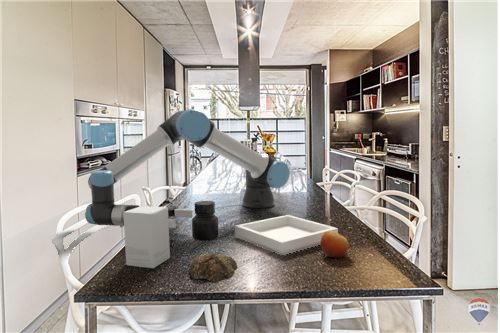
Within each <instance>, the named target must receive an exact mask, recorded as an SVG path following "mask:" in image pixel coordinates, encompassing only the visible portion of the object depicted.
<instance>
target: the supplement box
mask: <svg viewBox="0 0 500 333" xmlns="http://www.w3.org/2000/svg"><path fill="white" fill-rule="evenodd" d="M139 206H140V207H137V208H134V209H131V210H128V211H125V212H123V216H124V226H123V229H124V230H123V231H124V245H125V248H124V249H125V263H126V266H128V267H129V266H130V267H140V268H147V269H155V268H156V267H158V266H159V265H161V264H163V263H164V262H166V261H167V260H169V259H170V258H171V250H170V248H171V247H170V229H169V222H168V219H169V217H168V208H169V206H167V207H166V206H151V205H139Z"/></svg>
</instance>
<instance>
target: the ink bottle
mask: <svg viewBox="0 0 500 333" xmlns="http://www.w3.org/2000/svg"><path fill="white" fill-rule="evenodd" d="M215 204H216V201H213V200H200V201H199V200H198V201H195V202H194V216H192V219H191V238H192V239H193V240H195V241H199V242H200V241H202V242H203V241H204V242H205V241H213V240H216V239H218V238H219V218H218V216H217V215H215V214H216V213H215V212H216V205H215Z"/></svg>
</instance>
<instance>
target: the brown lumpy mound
mask: <svg viewBox="0 0 500 333" xmlns="http://www.w3.org/2000/svg"><path fill="white" fill-rule="evenodd" d="M232 257H233V256H229V255H228V256H226V255H224V254H218V253H214V252H209V253H202V254H200V255H196V256H195V257H194V259H192V261H191V262H190V265H189V267H188V270H189V271H188V272H189V273H190V277H191V278H192V279H194V280H208V281H209V282H219V281H222V280H224V279H226V278H229V277H231V278H232V276H233V275H234V274H235V273H236V272H235V271H236V270H237V269H238V266H237V265H238V264H237V263H238V262H236V260H235V259H234V258H232ZM236 268H237V269H236Z"/></svg>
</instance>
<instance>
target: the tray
mask: <svg viewBox="0 0 500 333" xmlns="http://www.w3.org/2000/svg"><path fill="white" fill-rule="evenodd" d="M328 231H329V232H333V231H334V232H336V233H339V228H338V227H334V226H331V225H327V224H325V223H324V224H323V223H320V222H316V221H312V220H310V219H309V220H308V219H305V218H301V217H297V216H294V215H290V214H286V215H280V216H276V217H271V218H270V217H269V218H265V219H261V220H255V221H251V222H246V223H240V224H236V225H234V238H236V237H237V238H236V239H239V238H240V239H239V240H241V239H242V241H243V240H245V241H244V242H246V241H248V242H250V243H249V244H251V243H253V244H255V245H254V246H256V245H258V246H260V247H259V248H261V247H263V248H265V249H264V250H266V249H268V250H270V251H269V252H271V251H272V252H271V253H273V252H275V253H274V254H276V253H277V254H276V255H278V254H280V255H279V256H281V255H284V256H287V255H286V254H288V255H290V254H289V253H291V254H294V253H293V252H295V253H297V252H296V251H298V252H301V251H300V250H302V251H305V250H308V249H307V248H309V249H312V248H311V247H313V248H315V246H316V247H319V246H318V245H320V242H321V238H322V236H323V234H324V233H325V232H328ZM248 242H247V243H248ZM253 244H252V245H253ZM258 246H257V247H258ZM320 246H321V245H320ZM263 248H262V249H263ZM304 249H305V250H304ZM268 250H267V251H268Z"/></svg>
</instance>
